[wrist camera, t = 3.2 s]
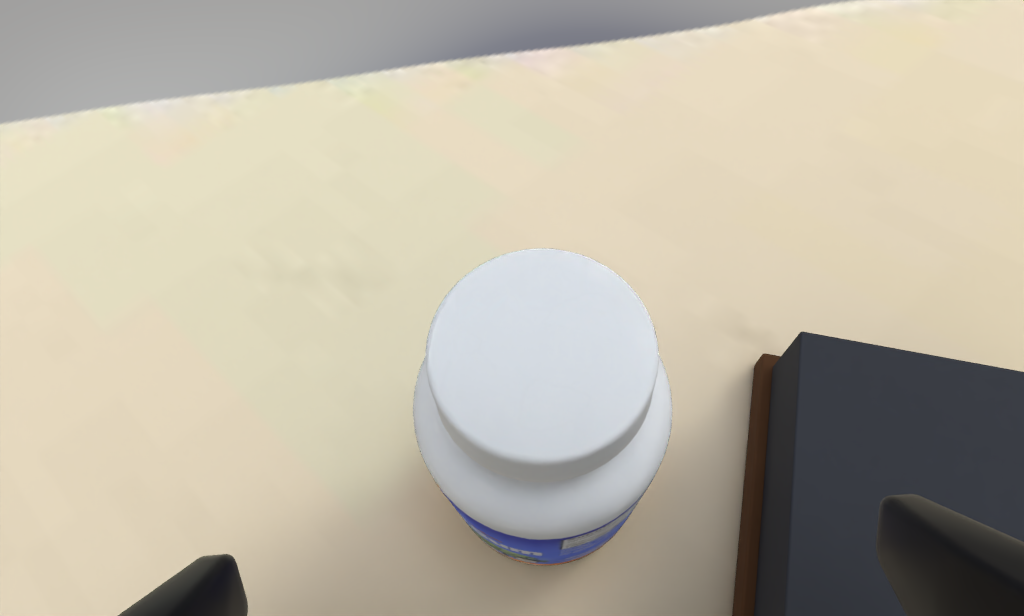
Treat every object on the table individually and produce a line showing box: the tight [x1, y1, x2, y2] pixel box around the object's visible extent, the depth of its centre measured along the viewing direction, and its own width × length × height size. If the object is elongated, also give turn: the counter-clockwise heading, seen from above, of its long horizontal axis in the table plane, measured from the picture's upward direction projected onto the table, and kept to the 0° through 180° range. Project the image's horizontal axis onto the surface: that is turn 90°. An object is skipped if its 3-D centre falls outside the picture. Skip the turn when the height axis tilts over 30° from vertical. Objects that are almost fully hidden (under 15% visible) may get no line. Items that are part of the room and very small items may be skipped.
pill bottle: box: [413, 248, 672, 566], centre depth 15 cm, size 5×5×10 cm
